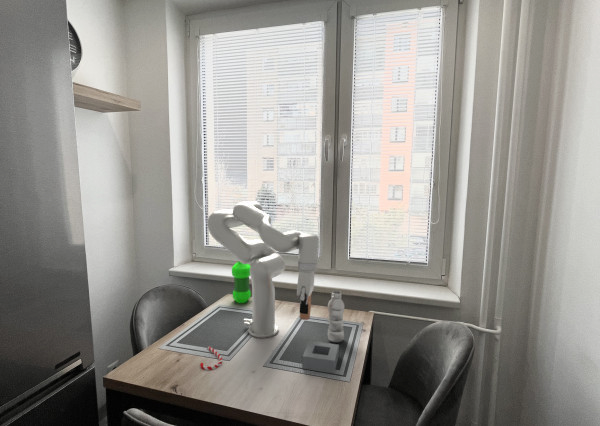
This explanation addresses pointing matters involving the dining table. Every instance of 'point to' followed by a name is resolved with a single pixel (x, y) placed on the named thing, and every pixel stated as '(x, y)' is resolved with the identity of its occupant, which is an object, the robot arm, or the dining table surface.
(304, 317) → the peg
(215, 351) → the candy cane
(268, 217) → the robot arm
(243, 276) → the plastic bottle
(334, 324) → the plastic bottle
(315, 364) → the socket block
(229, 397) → the dining table surface
